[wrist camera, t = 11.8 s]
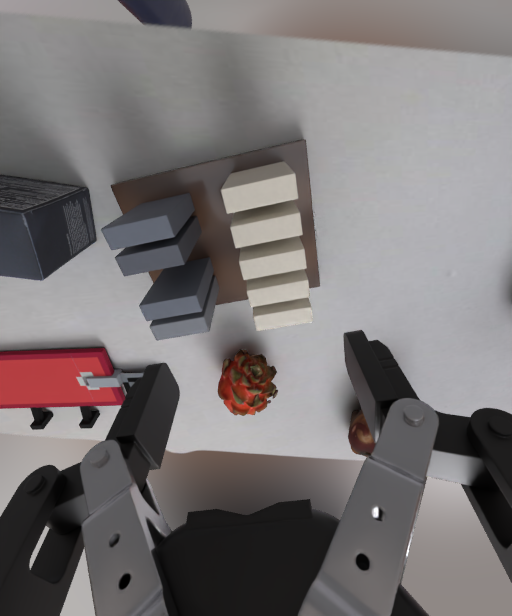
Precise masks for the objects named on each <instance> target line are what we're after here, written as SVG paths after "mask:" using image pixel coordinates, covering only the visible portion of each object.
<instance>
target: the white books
mask: <svg viewBox="0 0 512 616" xmlns="http://www.w3.org/2000/svg"><path fill="white" fill-rule="evenodd" d="M221 193H222V197H223V201H224V205H225V209H226V213H227V214H229V213H234V215H233V219H232V223H231V226H230V229H231V232H232V236H233V240H234V244H235V248H240V247H245V246H250V245H255V244H260V243H265V242H270V241H275V240H280V239H285V238H290V237H295V236H300V235H303V233H302V225H301V217H300V212H299V210H298V208H297V206H296V205H295V203H294V201H293V200H294V199H298V192H297V184H296V175H295V173H294V172H293V170H292V169H291V168H290V167H289V166H288V165H287V164H286V163H285V162H284V161H283V162H279V163H274V164H270V165H265V166H261V167H257V168H252V169H248V170H244V171H239V172H235V173H231V174H230V175H229V177H228V178H227V180H226V182H225V183H224V185H223V187H222V189H221ZM247 295H248V299H249V303H250V307H253V318H254V322H255V326H256V330H257V331H261V330H267V329H273V328H279V327H285V326H291V325H297V324H303V323H309V322H313V316H312V308H311V304H310V301H309V298H308V297H310V291H309V283H308V278H307V275H306V273H305V270H304V269H301V270H296V271H290V272H285V273H280V274H274V275H269V276H263V277H258V278H253V279H247Z"/></svg>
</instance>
